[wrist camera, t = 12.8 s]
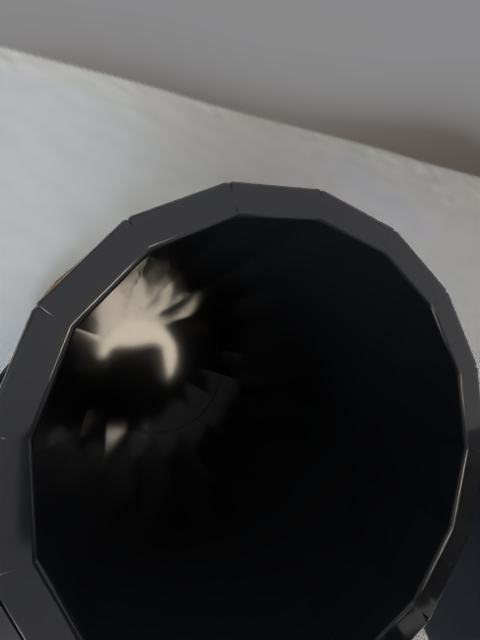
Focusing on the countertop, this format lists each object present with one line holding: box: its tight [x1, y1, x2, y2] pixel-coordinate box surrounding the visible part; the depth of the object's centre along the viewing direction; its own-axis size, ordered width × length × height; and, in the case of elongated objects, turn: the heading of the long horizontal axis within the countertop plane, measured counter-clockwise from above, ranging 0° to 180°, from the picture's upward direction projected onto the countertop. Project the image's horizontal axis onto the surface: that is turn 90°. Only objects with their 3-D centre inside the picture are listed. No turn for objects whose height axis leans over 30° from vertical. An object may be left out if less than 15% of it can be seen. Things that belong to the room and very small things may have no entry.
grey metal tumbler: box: [0, 182, 480, 640], centre depth 10 cm, size 6×6×12 cm
